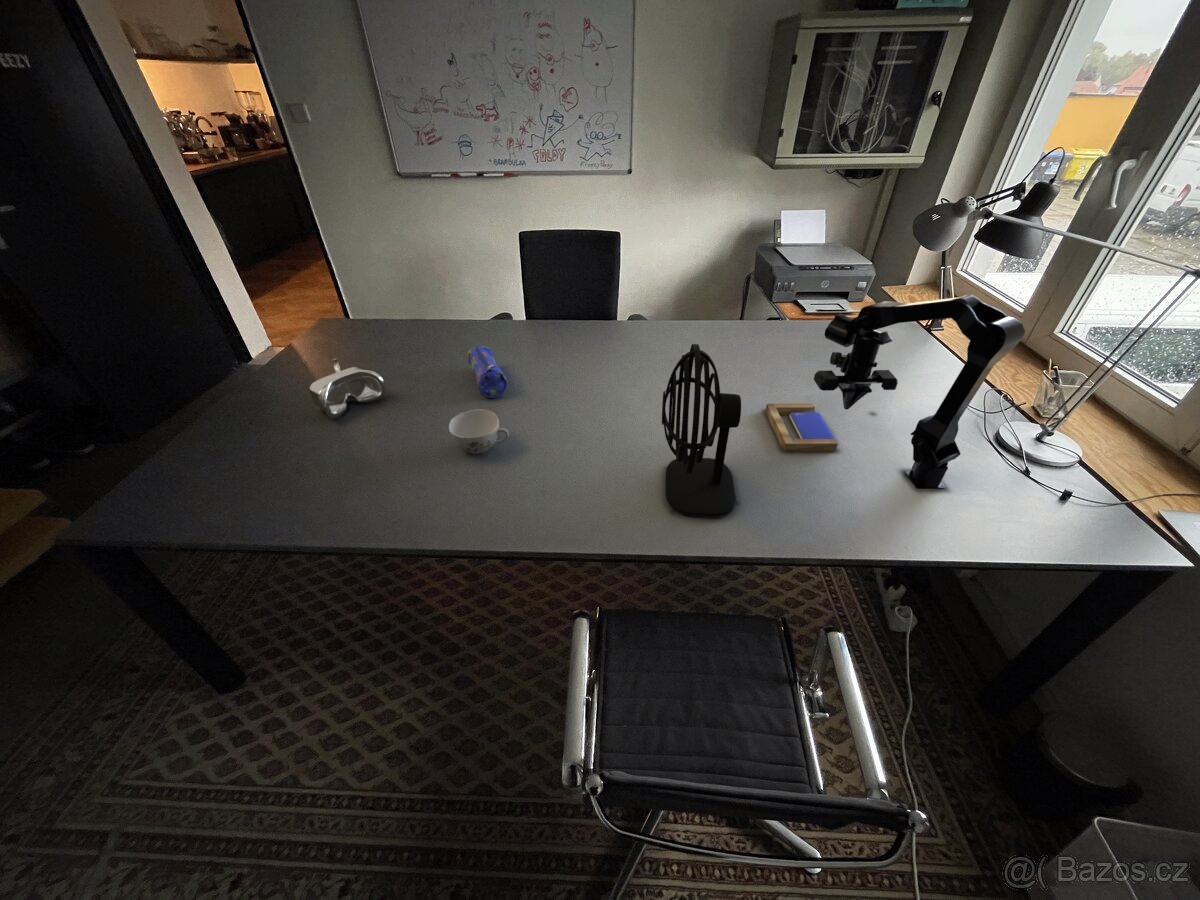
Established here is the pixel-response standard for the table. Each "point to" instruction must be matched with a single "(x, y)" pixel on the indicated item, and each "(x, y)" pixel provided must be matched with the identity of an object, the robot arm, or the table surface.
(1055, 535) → the table surface
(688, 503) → the desk fan
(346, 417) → the table surface
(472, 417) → the teacup
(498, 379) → the pencil case
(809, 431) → the hard drive
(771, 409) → the dock
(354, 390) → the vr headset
